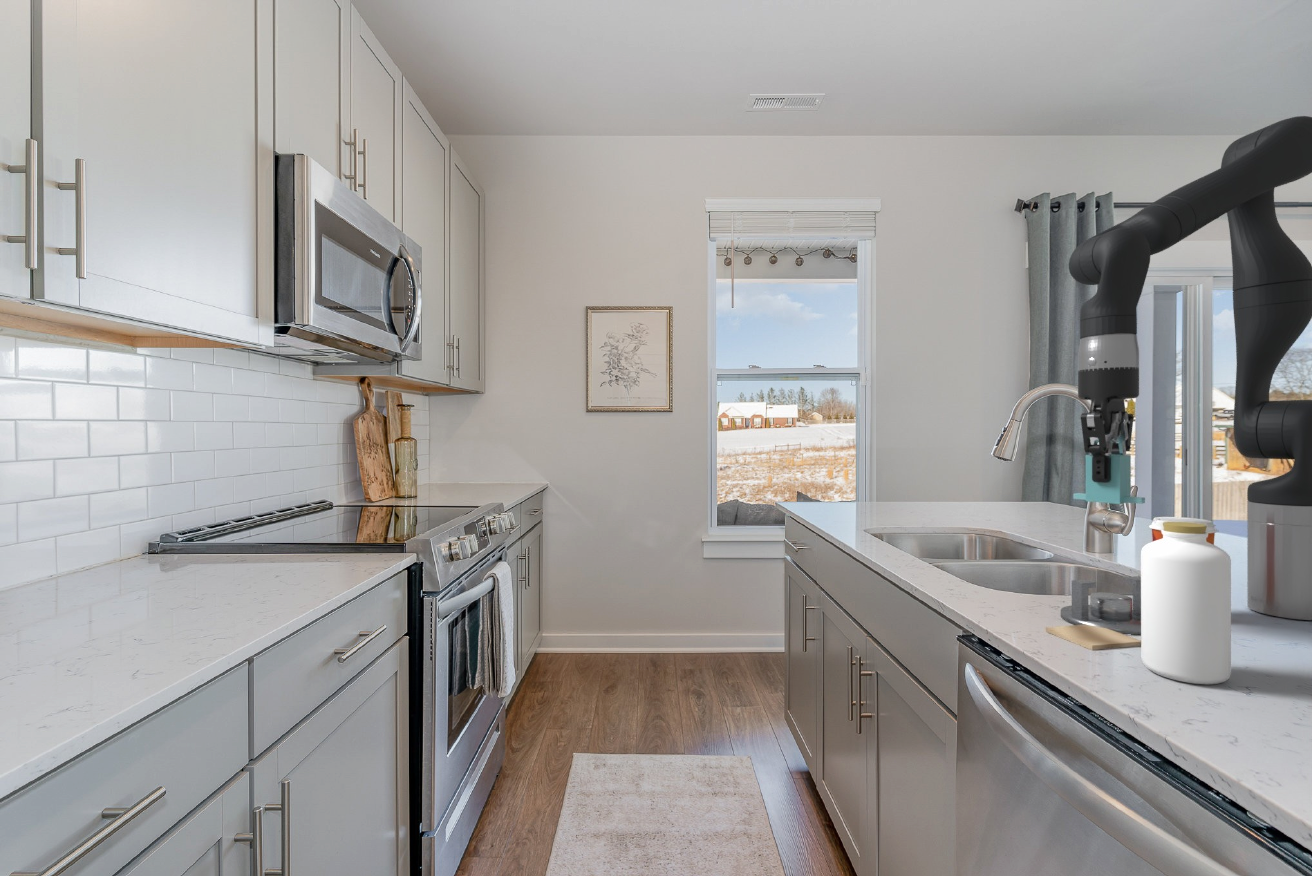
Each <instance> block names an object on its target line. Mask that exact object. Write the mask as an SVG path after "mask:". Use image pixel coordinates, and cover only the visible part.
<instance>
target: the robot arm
mask: <svg viewBox="0 0 1312 876" xmlns="http://www.w3.org/2000/svg"><path fill="white" fill-rule="evenodd" d="M1310 174H1312V116H1307V115H1300V116H1299V115H1298V116H1293V117H1289V118H1285V119H1282V120H1279V121H1277V122H1274V123H1272V124H1269V125H1268V126H1264V127H1263V128H1260V129H1258V130H1255V131H1254V132H1251V133H1249V134H1246V135H1244V136H1241V137H1239V138H1237V139H1236V140H1233V142H1232V143H1230V144H1229V145H1228V147H1227V148H1226V149H1225V151H1224V153H1223V156H1222V158H1221V164H1220V168H1219V169H1216V170H1214V171H1212V172H1210V173H1207V174H1205V175H1204V176H1201V177H1200V178H1197V179H1194V180H1193V181H1191V182H1188V183H1187V184H1185V185H1183V186H1181V187H1178V188H1177V189H1175V190H1173V191H1171V192H1169V193H1166V194H1164V196H1162V197H1160V198H1158V199H1156V200H1155V201H1154V202H1152V203H1151V204H1149V205H1147V206H1145V207H1144V208H1142V209H1140V210H1139V211H1138V212H1136V213H1135V214H1134V215H1131V216H1130V217H1128V218H1126V219H1125V220H1124V221H1121V222H1119V223H1117V224H1115V225H1113V226H1111V227H1109V228H1107V229H1105V230H1103V231H1101V232H1099V233H1096V234H1095V235H1093V236H1091V237H1090V238H1088V239H1085V241H1082V242H1081V243H1080V244H1079V245H1077V247H1076V248H1075V249H1074V250H1073V252H1072V254H1071V255H1070V258H1069V260H1068V261H1069V262H1068V271H1069V274H1070V276H1071V277H1072V278H1073V279H1074V281H1076V282H1078V283H1080V284H1082V285H1087V286H1097V285H1098V287H1097V290H1096V292H1095V294H1094V295H1093V296H1092V297H1091V298H1089V299H1088V300H1087V301H1085V302H1084V303H1083V304H1082V305H1081V307H1080V312H1079V346H1078V353H1077V396H1078V399H1080V400H1082V401H1083V400H1084V401H1090V407H1089V412H1087V413H1081V414H1080V424H1081V430H1082V439H1083V447H1084V451H1085V453H1086V454H1087V453H1089V454H1088V455H1090V456H1091V457H1092V480H1093V481H1094V482H1101V483H1107V482H1110V481H1111V457H1110V456H1111V455H1127V452H1130V451H1131V449H1132V447H1131V443H1132V435H1133V434H1132V433H1133V424H1134V419H1135V416H1134V414H1133V413H1128V411H1126V406H1125V400H1131V399H1136V398H1138V397H1139V396H1140V349H1139V342H1138V311H1137V310H1138V305H1139V301H1140V298H1141V295H1142V293H1143V288H1144V286H1145V282H1146V279H1147V274H1148V271H1149V268H1150V264H1151V263H1150V262H1151V256H1153V255H1156V254H1158V253H1162V252H1163V251H1165V250H1167V249H1170V248H1172V247H1173V246H1174V245H1176V244H1178V243H1179V242H1181V241H1182V240H1184V239H1186V238H1188V237H1189V236H1191V235H1192V234H1194V233H1195V232H1197V231H1199V230H1201V229H1202V228H1203V227H1205V226H1207V225H1208V224H1211V222H1213V221H1215V220H1216V219H1218V218H1220V217H1222V216H1223V215H1225V214H1226V215H1227V221H1228V229H1229V236H1230V237H1229V240H1230V247H1231V248H1230V249H1231V250H1230V251H1231V252H1230V253H1231V265H1232V267H1231V268H1232V305H1233V308H1232V309H1233V310H1232V311H1233V320H1234V321H1233V323H1234V332H1235V334H1234V337H1235V352H1236V370H1235V371H1236V372H1235V390H1234V406H1233V407H1234V408H1233V439H1234V443H1235V445H1236V448H1237V450H1238V452H1239V453H1240V454H1241V455H1242V456H1244V457H1245V458H1247V459H1248V458H1249V459H1263V460H1265V459H1266V460H1267V459H1269V460H1270V459H1271V460H1294V461H1293V465H1292V467H1291V469H1290V470H1289V471H1288V472H1285V473H1283V474H1282V475H1278V476H1276V477H1273V478H1269V479H1263V480H1258V481H1255V482H1252V483H1250V484H1248V486H1247V492H1246V493H1247V494H1246V495H1247V497H1246V498H1247V499H1246V500H1247V506H1246V508H1247V514H1246V515H1247V516H1246V517H1247V519H1246V520H1247V523H1246V524H1247V531H1246V532H1247V536H1246V538H1247V539H1246V541H1247V543H1246V544H1247V547H1246V548H1247V561H1246V562H1247V568H1246V569H1247V581H1246V583H1247V584H1246V587H1247V597H1246V598H1247V609H1250V610H1252V611H1255V612H1257V613H1260V614H1264V615H1268V616H1274V617H1277V618H1285V619H1292V620H1302V621H1303V620H1305V621H1312V399H1290V400H1289V399H1288V400H1270V390H1271V384H1272V380H1273V376H1274V374H1275V372H1276V370H1277V368H1278V366H1279V364H1280V363H1281V361H1282V360H1283V358H1284V357H1285V356H1286V354H1287V353H1288V352H1289V350H1290V349H1291V347H1293V345H1294V344H1295V343H1296V341H1297V340H1298V339H1299V338H1300V336H1301V335H1302V334H1303V333H1304V331H1305V329H1306V328H1307V327H1308V325H1309V324H1310V322H1311V320H1312V264H1311V261H1309V259H1308V257H1307V256H1306V255H1305V253H1304V252H1303V251H1302V250H1301V248H1300V247H1298V246H1297V244H1296V243H1294V241H1293V240H1292V239H1291V238H1290V236H1288V235H1287V233H1286V232H1285V231H1284V230H1283V228H1282V227H1281V225H1280V223H1279V221H1278V218H1277V212H1276V205H1275V189H1276V188H1279V187H1281V186H1284V185H1287V184H1290V183H1293V182H1296V181H1299V180H1300V179H1303V178H1305V177H1307V176H1309V175H1310Z"/></svg>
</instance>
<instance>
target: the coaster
mask: <svg viewBox="0 0 1312 876" xmlns="http://www.w3.org/2000/svg"><path fill="white" fill-rule="evenodd" d="M1045 633H1048V634H1051V635H1054V636H1056V637H1059V638H1060V639H1064V640H1066V641H1068V642H1071V643H1073V644H1076V645H1078V646H1081V647H1083V648H1086V649H1088V650H1091V651H1094V650H1095V651H1098V650H1108V649H1110V650H1111V649H1119V647H1122V648H1129V647H1128V646H1134V647H1141V639H1139V638H1136V637H1132V636H1131V635H1124V634H1121V633H1118V632H1116V631H1113V630H1110V629H1107V628H1102V627H1096V626H1092V625H1087V624H1084V625H1074V624H1072V625H1061V626H1048V627H1047V626H1046V627H1045Z"/></svg>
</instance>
